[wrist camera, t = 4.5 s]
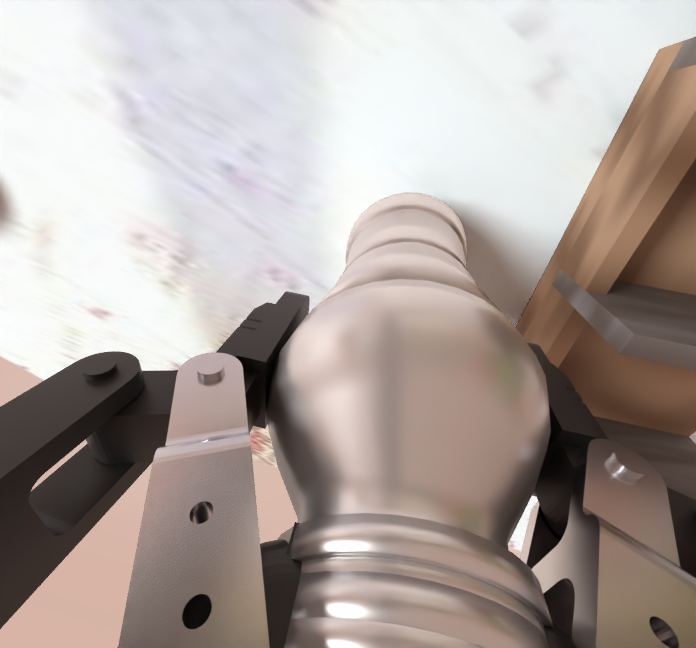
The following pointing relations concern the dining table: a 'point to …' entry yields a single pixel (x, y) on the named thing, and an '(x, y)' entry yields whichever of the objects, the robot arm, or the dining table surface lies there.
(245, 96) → the dining table surface
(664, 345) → the wooden shelf rack
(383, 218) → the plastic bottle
